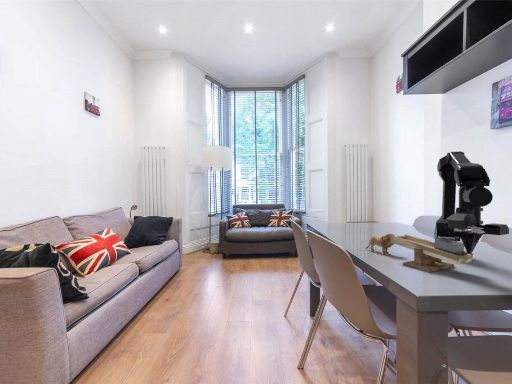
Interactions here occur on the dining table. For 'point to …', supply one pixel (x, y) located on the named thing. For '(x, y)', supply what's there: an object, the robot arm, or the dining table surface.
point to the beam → (430, 249)
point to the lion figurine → (381, 242)
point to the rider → (449, 246)
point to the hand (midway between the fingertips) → (469, 253)
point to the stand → (426, 262)
